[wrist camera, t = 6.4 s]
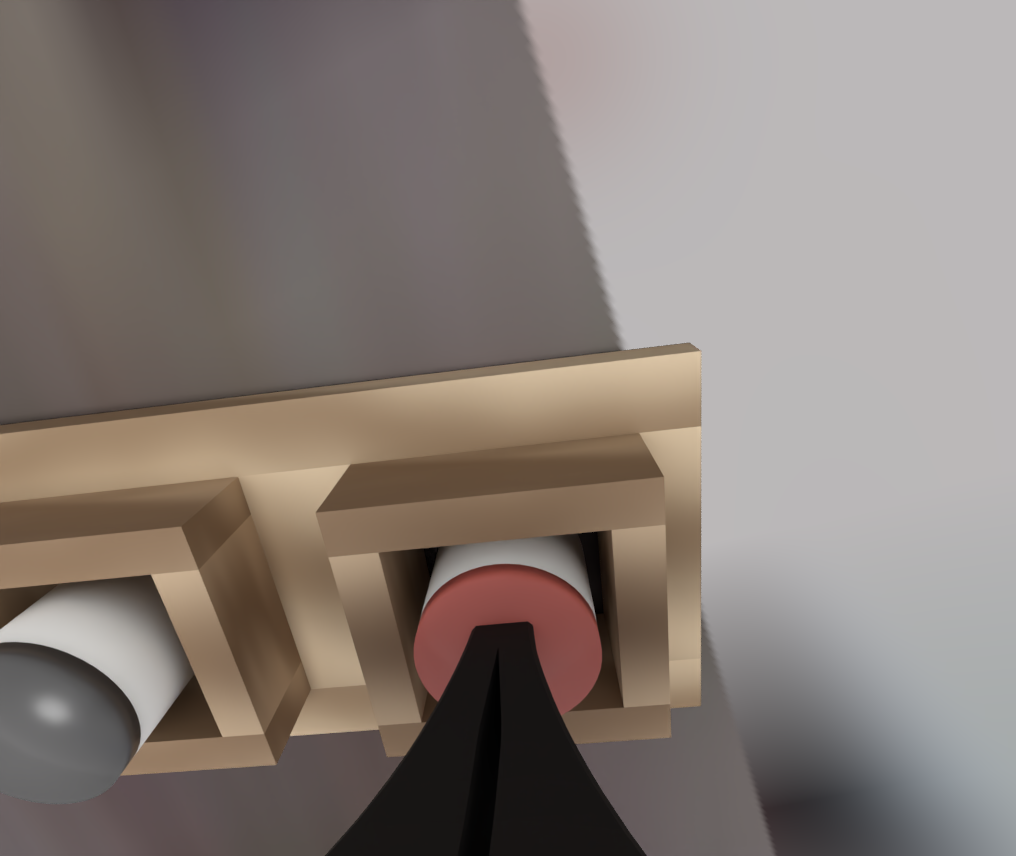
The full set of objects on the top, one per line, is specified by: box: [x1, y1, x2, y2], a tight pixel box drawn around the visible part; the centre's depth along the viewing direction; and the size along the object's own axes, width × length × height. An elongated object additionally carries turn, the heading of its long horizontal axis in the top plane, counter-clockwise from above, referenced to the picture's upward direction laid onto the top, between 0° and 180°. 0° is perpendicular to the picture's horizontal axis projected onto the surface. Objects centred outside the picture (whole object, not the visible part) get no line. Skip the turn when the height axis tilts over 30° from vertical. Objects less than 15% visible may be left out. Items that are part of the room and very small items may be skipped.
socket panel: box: [0, 343, 701, 776], centre depth 15 cm, size 12×22×4 cm, turn 97°
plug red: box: [414, 533, 602, 715], centre depth 14 cm, size 4×4×4 cm
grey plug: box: [0, 575, 194, 804], centre depth 14 cm, size 4×4×4 cm
